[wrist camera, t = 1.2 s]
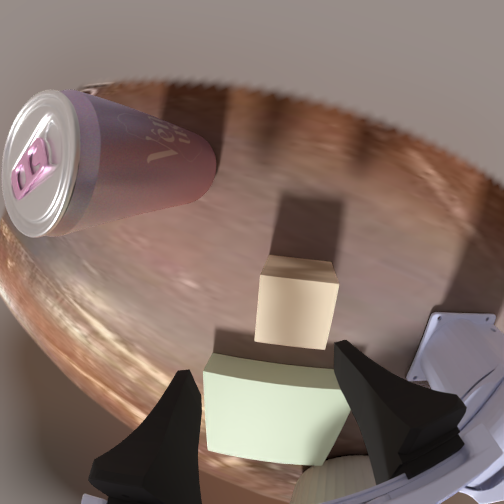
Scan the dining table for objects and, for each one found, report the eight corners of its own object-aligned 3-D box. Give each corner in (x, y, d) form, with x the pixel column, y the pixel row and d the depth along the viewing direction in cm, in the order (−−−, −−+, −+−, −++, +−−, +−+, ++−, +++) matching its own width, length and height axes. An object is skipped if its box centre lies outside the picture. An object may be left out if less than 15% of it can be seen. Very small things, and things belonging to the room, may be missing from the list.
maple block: (331, 261, 21) (339, 283, 16) (321, 316, 22) (324, 349, 18) (269, 254, 22) (260, 274, 17) (263, 310, 23) (254, 341, 18)
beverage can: (144, 154, 21) (-7, 147, 7) (201, 120, 20) (63, 53, 6) (169, 215, 22) (20, 265, 8) (230, 184, 21) (99, 194, 6)
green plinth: (354, 370, 23) (359, 390, 20) (322, 448, 27) (322, 465, 24) (212, 352, 25) (203, 370, 22) (214, 433, 29) (207, 450, 26)
